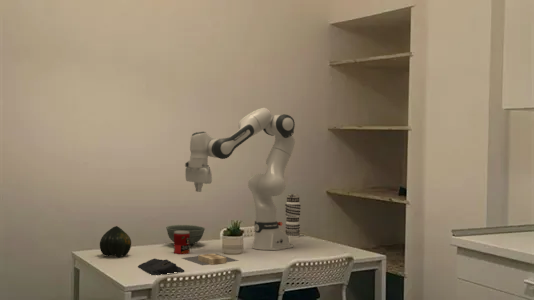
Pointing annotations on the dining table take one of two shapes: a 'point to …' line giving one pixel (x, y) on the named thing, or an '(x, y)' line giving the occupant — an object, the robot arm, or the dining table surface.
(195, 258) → the rubber mat
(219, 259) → the beech tile
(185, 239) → the canned food
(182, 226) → the bowl
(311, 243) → the dining table surface
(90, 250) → the dining table surface
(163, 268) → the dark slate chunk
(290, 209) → the decorative candle
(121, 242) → the squash
